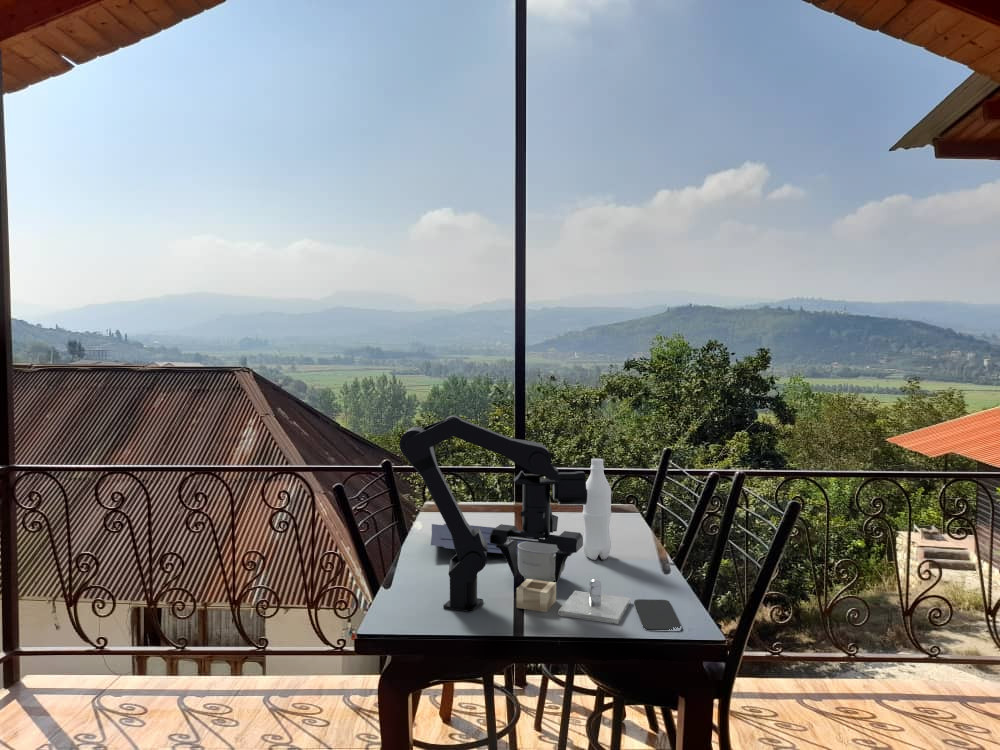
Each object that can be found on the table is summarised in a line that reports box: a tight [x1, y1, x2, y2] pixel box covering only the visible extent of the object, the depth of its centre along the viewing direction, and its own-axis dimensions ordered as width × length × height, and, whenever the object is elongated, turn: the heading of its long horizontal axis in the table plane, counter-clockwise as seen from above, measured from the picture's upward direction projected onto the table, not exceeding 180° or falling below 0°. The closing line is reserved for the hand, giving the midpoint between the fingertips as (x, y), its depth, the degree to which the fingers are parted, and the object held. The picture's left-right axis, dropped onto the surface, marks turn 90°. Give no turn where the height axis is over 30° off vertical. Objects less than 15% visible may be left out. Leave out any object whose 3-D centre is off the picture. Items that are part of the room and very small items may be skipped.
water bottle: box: [582, 457, 612, 561], centre depth 178 cm, size 7×7×25 cm
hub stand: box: [558, 578, 631, 625], centre depth 144 cm, size 12×12×6 cm
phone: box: [633, 598, 682, 631], centre depth 140 cm, size 7×1×15 cm
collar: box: [516, 579, 557, 613], centre depth 146 cm, size 6×6×4 cm
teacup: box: [517, 541, 566, 582], centre depth 160 cm, size 14×11×8 cm
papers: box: [430, 523, 533, 556], centre depth 187 cm, size 24×30×4 cm
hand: (535, 578), depth 146 cm, fingers open, 9 cm apart
